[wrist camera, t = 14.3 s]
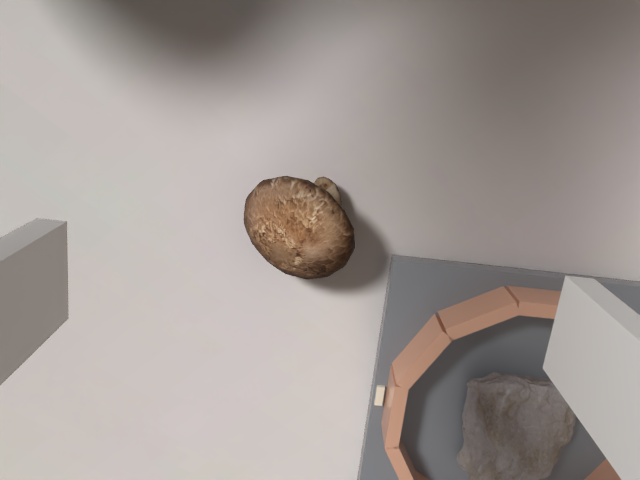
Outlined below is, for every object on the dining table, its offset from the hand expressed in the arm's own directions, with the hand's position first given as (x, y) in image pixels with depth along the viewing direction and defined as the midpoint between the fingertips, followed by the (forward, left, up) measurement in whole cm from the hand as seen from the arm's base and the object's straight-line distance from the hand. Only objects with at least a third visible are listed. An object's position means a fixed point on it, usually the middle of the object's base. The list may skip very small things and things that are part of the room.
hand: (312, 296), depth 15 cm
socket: (+18, +17, -27) cm, 36 cm away
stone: (+19, +16, -26) cm, 35 cm away
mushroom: (+5, -1, -27) cm, 27 cm away
